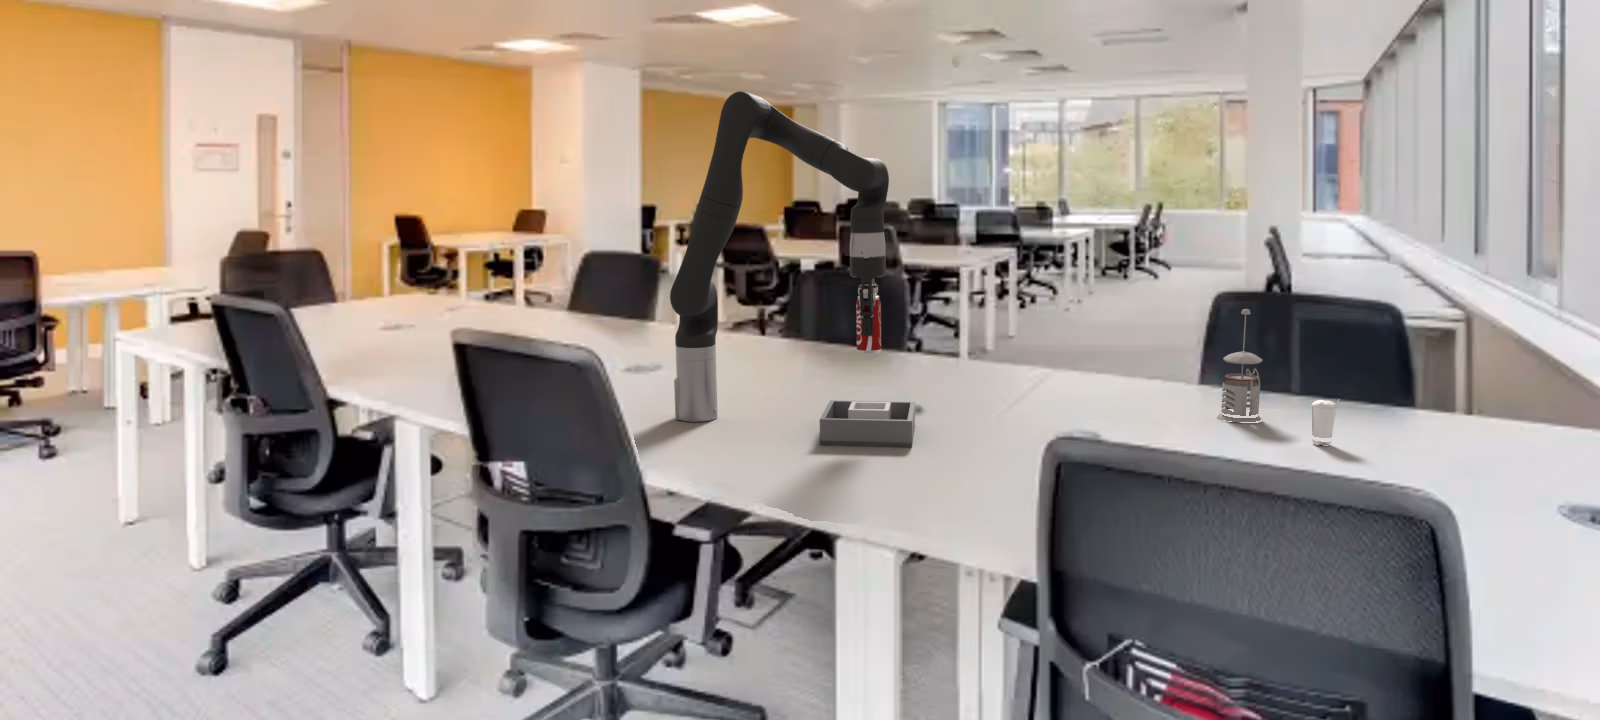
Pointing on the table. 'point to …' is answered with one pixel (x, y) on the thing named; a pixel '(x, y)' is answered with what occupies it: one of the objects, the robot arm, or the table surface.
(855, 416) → the box
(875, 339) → the soda can
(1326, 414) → the milkshake
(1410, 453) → the table surface
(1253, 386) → the french press
